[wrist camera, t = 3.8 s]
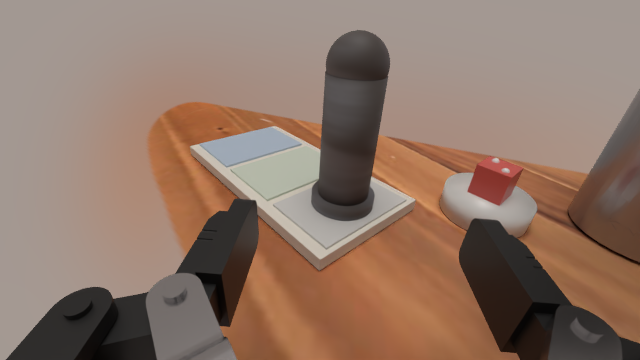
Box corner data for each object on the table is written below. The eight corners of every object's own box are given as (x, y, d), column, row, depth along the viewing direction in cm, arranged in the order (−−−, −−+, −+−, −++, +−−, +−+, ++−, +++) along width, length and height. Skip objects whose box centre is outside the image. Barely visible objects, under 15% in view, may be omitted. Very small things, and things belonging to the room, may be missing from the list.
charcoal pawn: (341, 179, 27) (358, 26, 21) (385, 204, 24) (420, 34, 18) (298, 198, 24) (302, 26, 18) (342, 230, 21) (366, 35, 15)
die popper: (461, 183, 30) (476, 139, 28) (538, 216, 26) (564, 168, 24) (424, 207, 26) (439, 158, 24) (508, 252, 22) (537, 198, 19)
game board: (275, 133, 39) (275, 124, 38) (413, 209, 26) (416, 197, 25) (191, 154, 32) (189, 144, 32) (319, 270, 19) (320, 257, 19)
